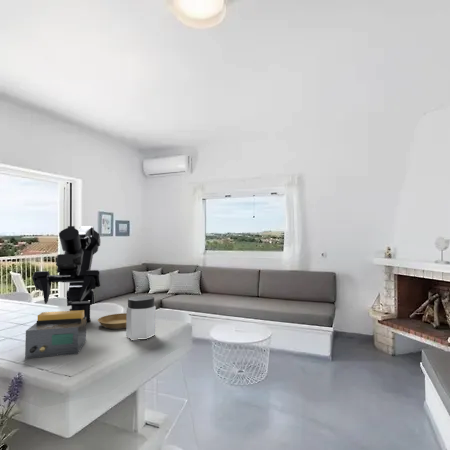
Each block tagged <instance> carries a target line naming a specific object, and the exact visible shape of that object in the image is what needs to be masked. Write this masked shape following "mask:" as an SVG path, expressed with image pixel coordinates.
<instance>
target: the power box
mask: <svg viewBox="0 0 450 450" xmlns="http://www.w3.org/2000/svg"><path fill="white" fill-rule="evenodd" d="M86 342H87V322H86V317H85V314H84V318H83V319H82V320H81V318H76V319H59V320H42V321H38V320H36V322H35V323H34V324H32V326H30V327H29V328H28V329H26V330H25V349H24V350H25V351H24V358H25V359H35V358H47V357H58V356H72V355H78V354H79V353H78V352H80V351H81V349H82V347H83V346H84V344H85V343H86Z"/></svg>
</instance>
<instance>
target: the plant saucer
mask: <svg viewBox="0 0 450 450" xmlns="http://www.w3.org/2000/svg"><path fill="white" fill-rule="evenodd" d="M126 315H127V312H124V313H122V312H121V313H114V314H108V315H107V314H106V315H103V316H101V317H100V318H99V317H98V319H97V321H98V323H99V324H100V325H101V326H102V327H104V328H105V329H109V330H110V329H111V330H118V329H119V330H121V329H126Z"/></svg>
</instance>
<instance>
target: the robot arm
mask: <svg viewBox="0 0 450 450" xmlns="http://www.w3.org/2000/svg"><path fill="white" fill-rule="evenodd" d="M58 236H59V241H60V245H61V249H62V251H63V252H64V253H63V254H61V253H60V254H57V255H56V261H55V265H56V266H57V268H56V272H57V273H58V274H52V275H51V274H50V272H49V270H47V271H46V270H44V271H43V270H42V271H41V270H40V271H34V272H33V274H32V276H31V279H32V282H33V284H34V287H35V288H34V289H36V290H39V291H41V292H42V294H43V301H44V304H48V302H49V298H50V293H51V291H52V290H51V286H52V283H67V284H68V283H70V284H69V286H68V289H67V291H66V305H67V307H70V309H69V310H68V311H78V310H84V314H85V317H86V323H91V321H92V320H91V306H92V305H95V303H96V302H95V301H96V300H95V299H96V298H95V292H94V290H95V289H96V288H99V287H101V285H102V284H101V283H102V278H101V271H100V269H92V265H93V264H92V263H93V258H94V257H93V256H94V255H95V254H96V253H97V252H98V251H99V247H101V235H100V233H99V232H97V231H96V230H95V228H94V226H91V225H85V226H84V225H82V226H79V229H77V228H76V226H75V225H68V226H67V228H64V229H62V230H60V231H59V232H58Z"/></svg>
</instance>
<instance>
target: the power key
mask: <svg viewBox="0 0 450 450" xmlns="http://www.w3.org/2000/svg"><path fill="white" fill-rule="evenodd" d="M76 318H81V320H82V319H83V318H84V310H78V311H69V310H65V311H64V310H63V311H45V312H44V311H43V312H40V313H39V314H38V315H37V321H42V320H59V319H76Z"/></svg>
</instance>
